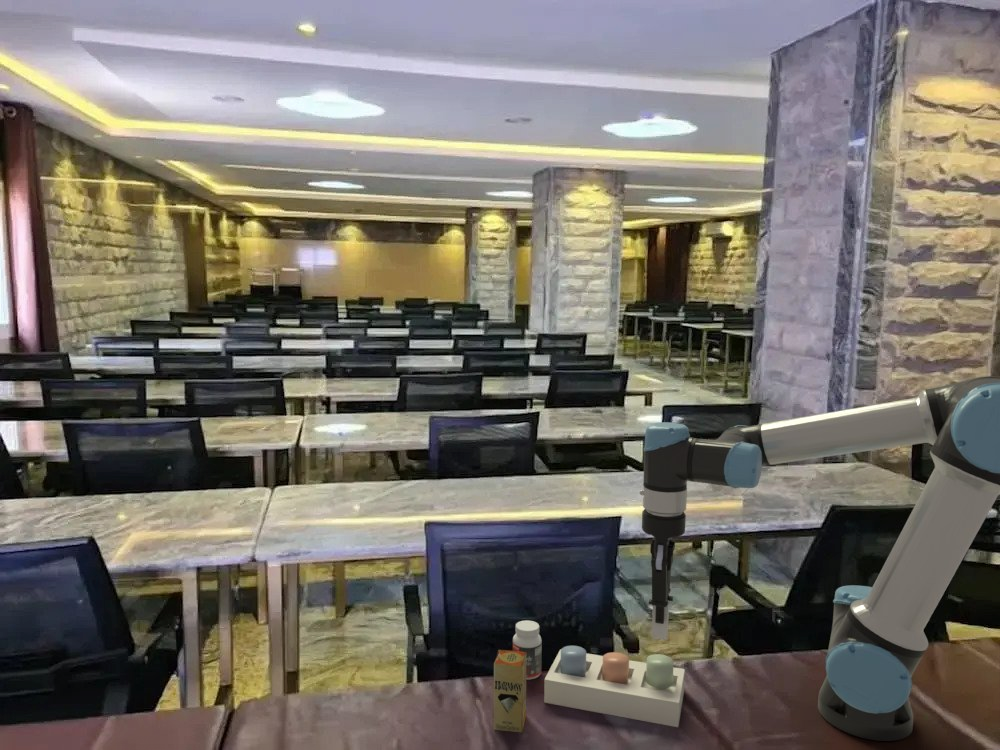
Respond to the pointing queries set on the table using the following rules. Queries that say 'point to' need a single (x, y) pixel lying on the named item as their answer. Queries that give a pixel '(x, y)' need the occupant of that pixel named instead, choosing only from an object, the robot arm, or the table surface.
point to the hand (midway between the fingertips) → (659, 637)
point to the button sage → (659, 671)
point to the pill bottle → (529, 646)
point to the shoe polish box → (510, 691)
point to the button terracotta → (615, 668)
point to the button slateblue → (573, 661)
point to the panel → (616, 692)
